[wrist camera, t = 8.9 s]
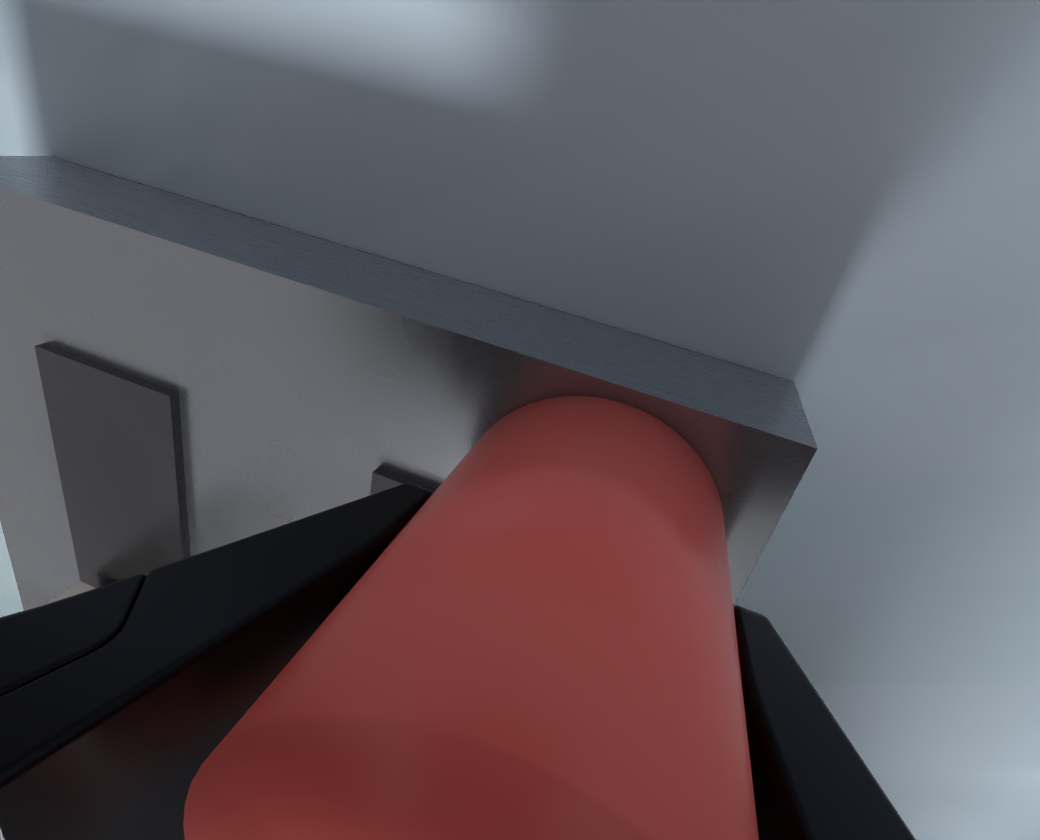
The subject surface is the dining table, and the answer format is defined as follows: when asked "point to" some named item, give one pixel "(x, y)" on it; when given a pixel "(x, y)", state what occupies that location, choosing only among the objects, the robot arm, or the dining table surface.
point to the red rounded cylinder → (515, 660)
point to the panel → (291, 381)
